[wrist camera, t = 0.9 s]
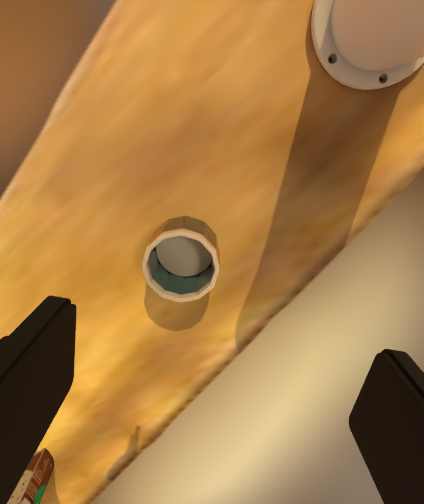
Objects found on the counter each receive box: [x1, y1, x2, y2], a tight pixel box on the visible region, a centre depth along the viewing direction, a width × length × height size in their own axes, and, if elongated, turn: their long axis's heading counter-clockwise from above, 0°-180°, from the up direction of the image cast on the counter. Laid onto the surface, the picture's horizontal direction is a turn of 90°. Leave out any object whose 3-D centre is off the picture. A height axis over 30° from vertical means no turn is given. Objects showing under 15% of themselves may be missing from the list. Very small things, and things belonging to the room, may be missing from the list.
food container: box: [7, 448, 54, 504], centre depth 49 cm, size 12×6×10 cm, turn 123°
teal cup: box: [142, 216, 220, 303], centre depth 37 cm, size 8×8×6 cm
